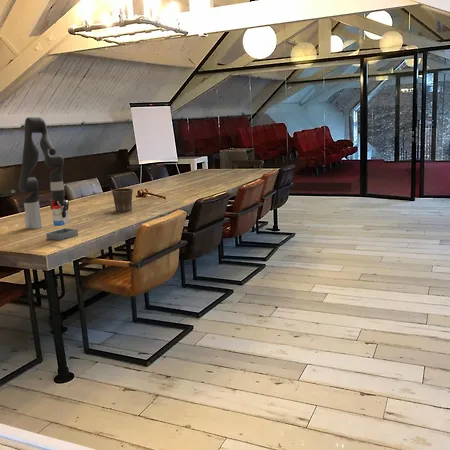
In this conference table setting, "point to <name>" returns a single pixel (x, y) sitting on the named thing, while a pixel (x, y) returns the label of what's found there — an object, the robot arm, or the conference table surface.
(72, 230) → the tray
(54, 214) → the ink box
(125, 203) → the plant pot
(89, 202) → the conference table surface
